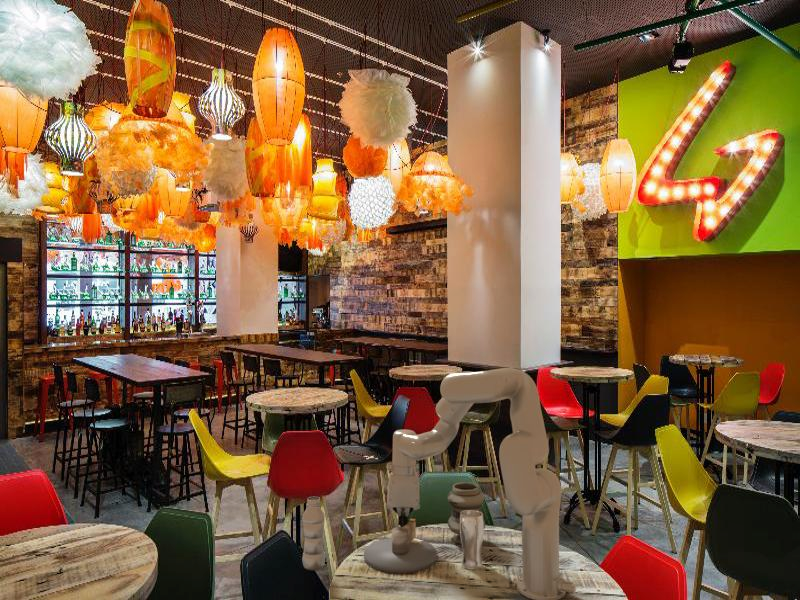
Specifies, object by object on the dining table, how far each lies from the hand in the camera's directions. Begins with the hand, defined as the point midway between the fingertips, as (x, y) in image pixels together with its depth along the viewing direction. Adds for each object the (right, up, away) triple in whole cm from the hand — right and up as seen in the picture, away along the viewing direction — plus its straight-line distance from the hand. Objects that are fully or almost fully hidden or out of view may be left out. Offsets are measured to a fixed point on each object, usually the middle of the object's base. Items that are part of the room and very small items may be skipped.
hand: (402, 527), depth 179 cm
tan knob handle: (+1, -4, -5) cm, 6 cm away
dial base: (-1, -6, -9) cm, 10 cm away
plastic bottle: (-26, -6, -16) cm, 31 cm away
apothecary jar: (+21, -6, +3) cm, 22 cm away
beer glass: (+20, -5, -15) cm, 26 cm away
